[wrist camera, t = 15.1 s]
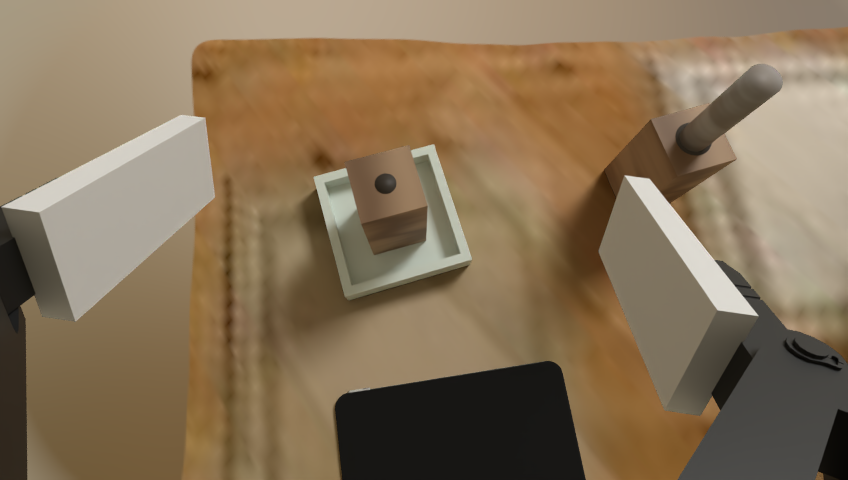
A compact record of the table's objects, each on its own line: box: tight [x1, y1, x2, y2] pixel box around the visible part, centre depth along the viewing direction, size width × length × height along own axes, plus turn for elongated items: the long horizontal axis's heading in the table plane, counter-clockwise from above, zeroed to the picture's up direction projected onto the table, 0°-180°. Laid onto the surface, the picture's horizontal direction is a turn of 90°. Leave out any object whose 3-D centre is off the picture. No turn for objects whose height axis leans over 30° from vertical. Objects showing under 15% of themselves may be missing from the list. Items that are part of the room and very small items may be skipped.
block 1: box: [345, 145, 428, 255], centre depth 40 cm, size 5×5×10 cm
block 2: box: [604, 64, 783, 203], centre depth 38 cm, size 5×5×18 cm
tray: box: [314, 144, 472, 300], centre depth 45 cm, size 12×12×2 cm
